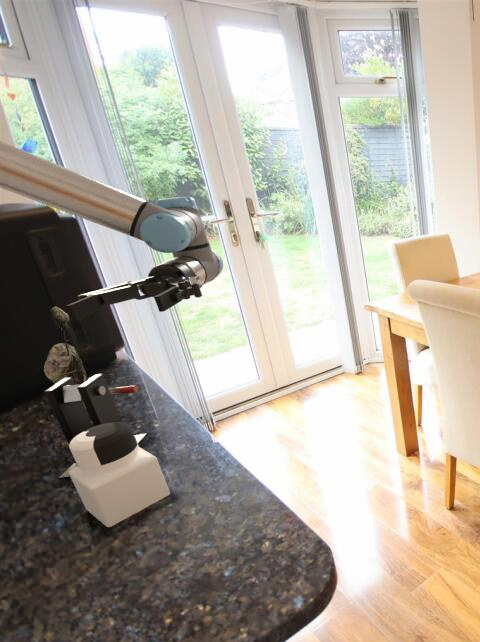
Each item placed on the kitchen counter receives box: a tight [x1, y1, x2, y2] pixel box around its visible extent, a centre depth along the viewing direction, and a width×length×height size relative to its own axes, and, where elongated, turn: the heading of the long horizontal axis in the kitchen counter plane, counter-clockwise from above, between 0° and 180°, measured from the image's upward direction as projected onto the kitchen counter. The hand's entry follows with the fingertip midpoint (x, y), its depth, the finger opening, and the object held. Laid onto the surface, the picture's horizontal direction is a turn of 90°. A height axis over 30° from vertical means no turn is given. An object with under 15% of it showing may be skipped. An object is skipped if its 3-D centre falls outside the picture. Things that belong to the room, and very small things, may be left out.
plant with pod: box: [43, 306, 88, 409], centre depth 86 cm, size 8×11×20 cm
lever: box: [63, 384, 139, 403], centre depth 71 cm, size 11×5×2 cm, turn 13°
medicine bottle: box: [68, 421, 171, 528], centre depth 60 cm, size 7×7×12 cm
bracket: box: [43, 373, 148, 480], centre depth 69 cm, size 10×7×14 cm
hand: (115, 308), depth 78 cm, fingers open, 13 cm apart
